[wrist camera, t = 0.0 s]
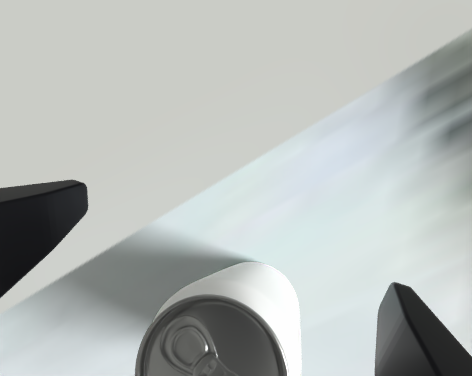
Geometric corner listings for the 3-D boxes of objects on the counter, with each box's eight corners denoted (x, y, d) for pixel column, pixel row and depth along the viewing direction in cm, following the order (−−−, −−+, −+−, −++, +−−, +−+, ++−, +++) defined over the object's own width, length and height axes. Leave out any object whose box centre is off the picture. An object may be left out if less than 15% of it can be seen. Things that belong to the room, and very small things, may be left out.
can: (250, 242, 24) (205, 245, 12) (319, 307, 22) (344, 382, 11) (191, 307, 24) (90, 373, 12) (256, 377, 22) (212, 529, 11)
